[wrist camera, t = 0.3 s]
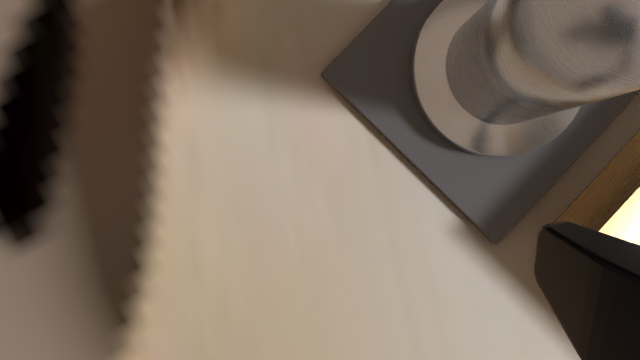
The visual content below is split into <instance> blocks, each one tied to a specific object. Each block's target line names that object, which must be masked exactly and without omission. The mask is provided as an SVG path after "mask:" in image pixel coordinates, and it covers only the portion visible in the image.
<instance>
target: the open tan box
mask: <svg viewBox="0 0 640 360" xmlns="http://www.w3.org/2000/svg"><path fill="white" fill-rule="evenodd" d="M563 221H567V222H572V223H575V224H578V225H581V226H584V227H587V228H590V229H593V230H596V231H599V232H602V233H605V234H608V235H611V236H614V237H617V238H620V239H623V240H626V241H629V242H632V243H635V244H638V245H640V131H639V132H638V133H637V134H636V135H635V136H634V137H633V138H632V139H631V140H630V142H629V143H628V144H627V145H626V146H625V147H624V148H623V149H622V150H621V151H620V152H619V153H618V155H617V156H616V157H615V158H614V159H613V160H612V161H611V162H610V163H609V164H608V165H607V166H606V168H605V169H604V170H603V171H602V172H601V173H600V174H599V175H598V176H597V177H596V178H595V179H594V181H593V182H592V183H591V184H590V185H589V186H588V187H587V188H586V189H585V190H584V191H583V192H582V194H581V195H580V196H579V197H578V198H577V199H576V200H575V201H574V202H573V203H572V204H571V205H570V206H569V208H568V209H567V210H566V211H565V212H564V213H563V214H562V215H561V216H560V217H559V218H558V219H557V221H556V222H555V223H558V222H563Z"/></svg>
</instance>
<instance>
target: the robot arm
mask: <svg viewBox="0 0 640 360" xmlns="http://www.w3.org/2000/svg"><path fill="white" fill-rule="evenodd" d="M534 274H535V278H536V281H537V283H538V285H539V287H540V289H541V291H542V292H543V294H544V296H545V298H546V299H547V301H548V303H549V305H550V306H551V308H552V310H553V312H554V313H555V315H556V317H557V319H558V320H559V322H560V324H561V326H562V327H563V329H564V331H565V333H566V334H567V336H568V338H569V340H570V341H571V343H572V345H573V347H574V348H575V350H576V352H577V353H578V355H579V357H580V358H581V360H640V245H638V244H635V243H632V242H629V241H626V240H623V239H620V238H617V237H614V236H611V235H608V234H605V233H602V232H599V231H596V230H593V229H590V228H587V227H584V226H581V225H578V224H575V223H572V222H567V221H563V222H558V223H553V224H548V225H544V226H543V227H541V229H540V230H539V233H538V239H537V247H536V255H535V264H534Z"/></svg>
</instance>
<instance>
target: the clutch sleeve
mask: <svg viewBox="0 0 640 360" xmlns="http://www.w3.org/2000/svg"><path fill="white" fill-rule="evenodd" d="M409 76H410V85H411V90H412V94H413V97H414V100H415V103H416V106H417V108H418V110H419V111H420V113H421V115H422V117H423V118H424V120H425V121H426V123H427V124H428V125H429V126H430V128H431V129H432V130H433V131H434V132H435V133H436V134H437V135H438V136H439V137H441V138H442V139H443V140H444V141H446V142H447V143H449V144H450V145H452V146H453V147H455V148H458V149H460V150H462V151H464V152H467V153H470V154H473V155H478V156H484V157H504V156H512V155H518V154H522V153H527V152H530V151H533V150H535V149H538V148H540V147H542V146H544V145H546V144H548V143H549V142H550V141H552V140H553V139H555V138H556V137H557V136H558V135H560V134H561V133H562V132H563V131H564V130H565V129H566V128H567V126H568V125H569V124H570V123H571V122H572V120H573V119H574V117H575V116H576V114H577V112H578V111H579V109H580V106H583V105H586V104H590V103H593V102H597V101H601V100H604V99H608V98H612V97H615V96H619V95H622V94H626V93H630V92H633V91H637V90H640V0H443V1H442V2H441V3H440V4H439V5H438V6H437V8H436V9H435V10H434V11H433V12H432V13H431V15H430V16H429V17H428V18H427V19H426V21H425V22H424V24H423V25H422V27H421V28H420V30H419V32H418V34H417V36H416V39H415V41H414V44H413V48H412V51H411V57H410V66H409Z"/></svg>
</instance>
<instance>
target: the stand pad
mask: <svg viewBox="0 0 640 360" xmlns="http://www.w3.org/2000/svg"><path fill="white" fill-rule="evenodd" d="M442 1H443V0H392V1H391V3H390V4H389V5H388V6H387V7H386V8H385V9H384V10H383V11H382V12H381V13H380V14H379V15H378V16H377V17H376V18H375V19H374V20H373V21H372V22H371V23H370V24H369V25H368V26H367V27H366V28H365V29H364V30H363V31H362V32H361V33H360V34H359V35H358V36H357V37H356V38H355V39H354V40H353V41H352V42H351V43H350V45H349V46H348V47H347V48H346V49H345V50H344V51H343V52H342V53H341V54H340V55H339V56H338V57H337V58H336V59H335V60H334V61H333V62H332V63H331V64H330V65H329V66H328V67H327V68H326V69H325V70H324V71H323V72H322V74H321V76H322V77H323V78H324V79H326V80H327V81H328V82H329V83H330V84H331V85H332V86H333V87H334V88H335V89H336V90H337V91H338V92H339V93H340V94H341V95H342V96H343V97H344V98H345V99H346V100H347V101H348V102H349V103H350V104H351V105H352V106H353V107H354V108H355V109H356V110H357V111H358V112H359V113H360V114H361V115H362V116H363V117H364V118H366V119H367V120H368V121H369V122H370V123H371V124H372V125H373V126H374V127H375V128H376V129H377V130H378V131H379V132H380V133H381V134H382V135H383V136H384V137H385V138H386V139H387V140H388V141H389V142H390V143H391V144H392V145H393V146H394V147H395V148H396V149H397V150H398V151H399V152H400V153H401V154H402V155H403V156H404V157H406V158H407V159H408V160H409V161H410V162H411V163H412V164H413V165H414V166H415V167H416V168H417V169H418V170H419V171H420V172H421V173H422V174H423V175H424V176H425V177H426V178H427V179H428V180H429V181H430V182H431V183H432V184H433V185H434V186H435V187H436V188H437V189H438V190H439V191H440V192H441V193H442V194H443V195H444V196H445V197H447V198H448V199H449V200H450V201H451V202H452V203H453V204H454V205H455V206H456V207H457V208H458V209H459V210H460V211H461V212H462V213H463V214H464V215H465V216H466V217H467V218H468V219H469V220H470V221H471V222H472V223H473V224H474V225H475V226H476V227H477V228H478V229H479V230H480V231H481V232H482V233H483V234H484V235H485V236H487V237H488V238H489V239H490V240H491V241H492V242H493V243H494V244H498V243H499V242H500V241H501V240H502V239H503V238H504V237H505V236H506V234H507V233H508V232H509V231H510V230H511V229H512V228H513V227H514V226H515V225H516V224H517V223H518V222H519V220H520V219H521V218H522V217H523V216H524V215H525V214H526V213H527V212H528V211H529V210H530V209H531V208H532V206H533V205H534V204H535V203H536V202H537V201H538V200H539V199H540V198H541V197H542V196H543V195H544V194H545V192H546V191H547V190H548V189H549V188H550V187H551V186H552V185H553V184H554V183H555V182H556V181H557V180H558V178H559V177H560V176H561V175H562V174H563V173H564V172H565V171H566V170H567V169H568V168H569V167H570V166H571V164H572V163H573V162H574V161H575V160H576V159H577V158H578V157H579V156H580V155H581V154H582V153H583V152H584V150H585V149H586V148H587V147H588V146H589V145H590V144H591V143H592V142H593V141H594V140H595V139H596V138H597V136H598V135H599V134H600V133H601V132H602V131H603V130H604V129H605V128H606V127H607V126H608V125H609V124H610V122H611V121H612V120H613V119H614V118H615V117H616V116H617V115H618V114H619V113H620V112H621V111H622V110H623V108H624V107H625V106H626V105H627V104H628V103H629V102H630V101H631V100H632V99H633V98H634V97H635V96H636V94H637V93H638V92H639V91H640V90H637V91H633V92H630V93H626V94H622V95H619V96H615V97H612V98H608V99H604V100H601V101H597V102H593V103H590V104H586V105H583V106H580V109H579V111H578V112H577V114H576V116H575V117H574V119H573V120H572V122H571V123H570V124H569V125H568V126H567V128H566V129H565V130H564V131H563V132H562V133H561V134H560V135H558V136H557V137H556V138H555V139H553V140H552V141H550V142H549V143H548V144H546V145H544V146H542V147H540V148H538V149H535V150H533V151H530V152H527V153H522V154H518V155H512V156H504V157H484V156H478V155H473V154H470V153H467V152H464V151H462V150H460V149H458V148H455V147H453V146H452V145H450V144H449V143H447V142H446V141H444V140H443V139H442V138H441V137H439V136H438V135H437V134H436V133H435V132H434V131H433V130H432V129H431V128H430V126H429V125H428V124H427V123H426V121H425V120H424V118H423V117H422V115H421V113H420V111H419V110H418V108H417V106H416V103H415V100H414V97H413V94H412V90H411V85H410V76H409V66H410V57H411V51H412V48H413V44H414V41H415V39H416V36H417V34H418V32H419V30H420V28H421V27H422V25H423V24H424V22H425V21H426V19H427V18H428V17H429V16H430V15H431V13H432V12H433V11H434V10H435V9H436V8H437V6H438V5H439V4H440V3H441V2H442Z"/></svg>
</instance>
